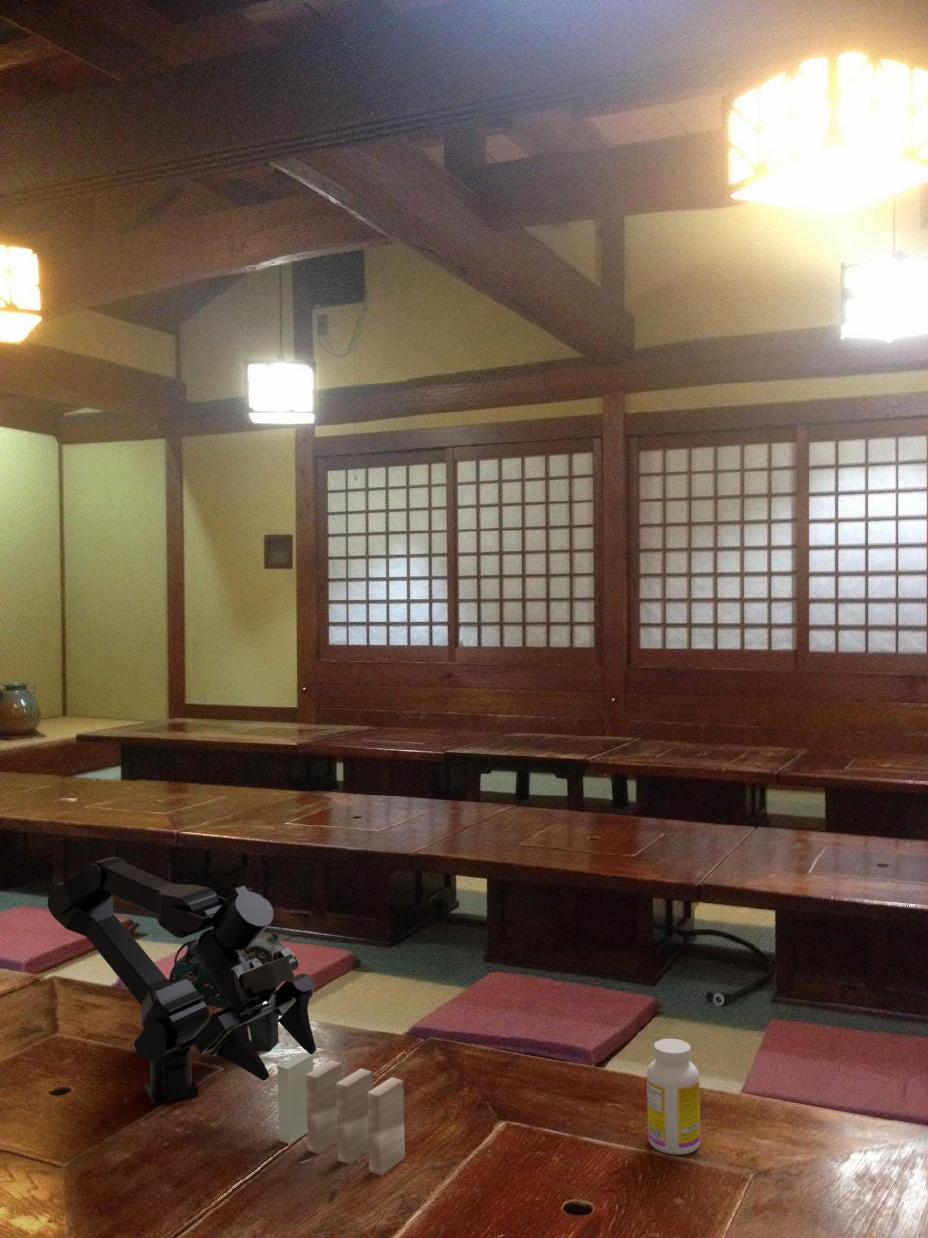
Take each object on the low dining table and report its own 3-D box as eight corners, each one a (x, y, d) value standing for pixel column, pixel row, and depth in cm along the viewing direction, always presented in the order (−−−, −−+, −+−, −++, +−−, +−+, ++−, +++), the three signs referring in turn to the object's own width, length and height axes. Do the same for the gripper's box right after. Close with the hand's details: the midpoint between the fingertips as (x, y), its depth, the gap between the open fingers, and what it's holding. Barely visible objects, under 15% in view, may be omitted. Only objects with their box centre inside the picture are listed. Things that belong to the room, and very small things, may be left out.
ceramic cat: (291, 1041, 179) (288, 917, 178) (275, 1058, 173) (272, 930, 172) (177, 1031, 184) (174, 911, 183) (158, 1048, 177) (154, 923, 176)
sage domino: (279, 1140, 147) (277, 1066, 147) (304, 1124, 151) (302, 1052, 151) (289, 1144, 146) (287, 1069, 146) (314, 1128, 150) (312, 1054, 150)
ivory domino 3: (369, 1172, 139) (367, 1092, 138) (393, 1154, 143) (391, 1077, 143) (380, 1176, 138) (379, 1096, 137) (404, 1158, 142) (403, 1080, 142)
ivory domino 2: (338, 1161, 142) (336, 1083, 141) (362, 1144, 146) (360, 1068, 145) (349, 1165, 141) (347, 1086, 140) (373, 1147, 145) (371, 1071, 144)
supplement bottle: (703, 1135, 146) (702, 1038, 146) (697, 1160, 140) (695, 1059, 139) (652, 1128, 148) (651, 1032, 148) (643, 1152, 142) (642, 1053, 142)
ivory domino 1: (308, 1150, 144) (306, 1074, 144) (333, 1134, 148) (331, 1060, 148) (318, 1154, 143) (316, 1077, 143) (343, 1137, 147) (341, 1063, 147)
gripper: (207, 955, 143) (273, 1059, 138) (304, 916, 159) (367, 1008, 153) (166, 1003, 148) (228, 1106, 142) (264, 961, 163) (324, 1052, 158)
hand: (290, 1065), depth 149 cm, fingers open, 9 cm apart
